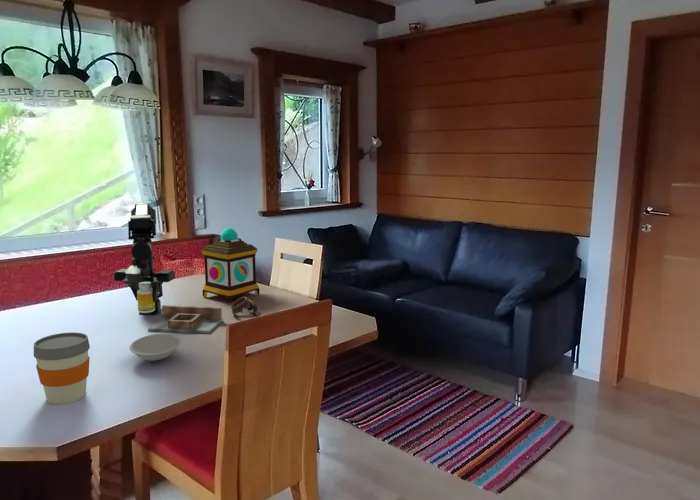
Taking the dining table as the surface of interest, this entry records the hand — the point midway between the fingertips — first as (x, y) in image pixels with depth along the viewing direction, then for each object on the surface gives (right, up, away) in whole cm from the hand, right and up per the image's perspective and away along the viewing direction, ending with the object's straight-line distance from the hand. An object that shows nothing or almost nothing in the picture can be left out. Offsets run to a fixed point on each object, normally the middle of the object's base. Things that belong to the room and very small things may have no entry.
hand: (146, 300), depth 179 cm
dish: (+9, -16, -16) cm, 25 cm away
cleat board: (+9, -10, +14) cm, 20 cm away
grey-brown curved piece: (+28, -8, +28) cm, 40 cm away
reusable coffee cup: (-5, -21, -41) cm, 46 cm away
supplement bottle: (0, -4, +1) cm, 4 cm away
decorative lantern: (+17, -3, +53) cm, 56 cm away
